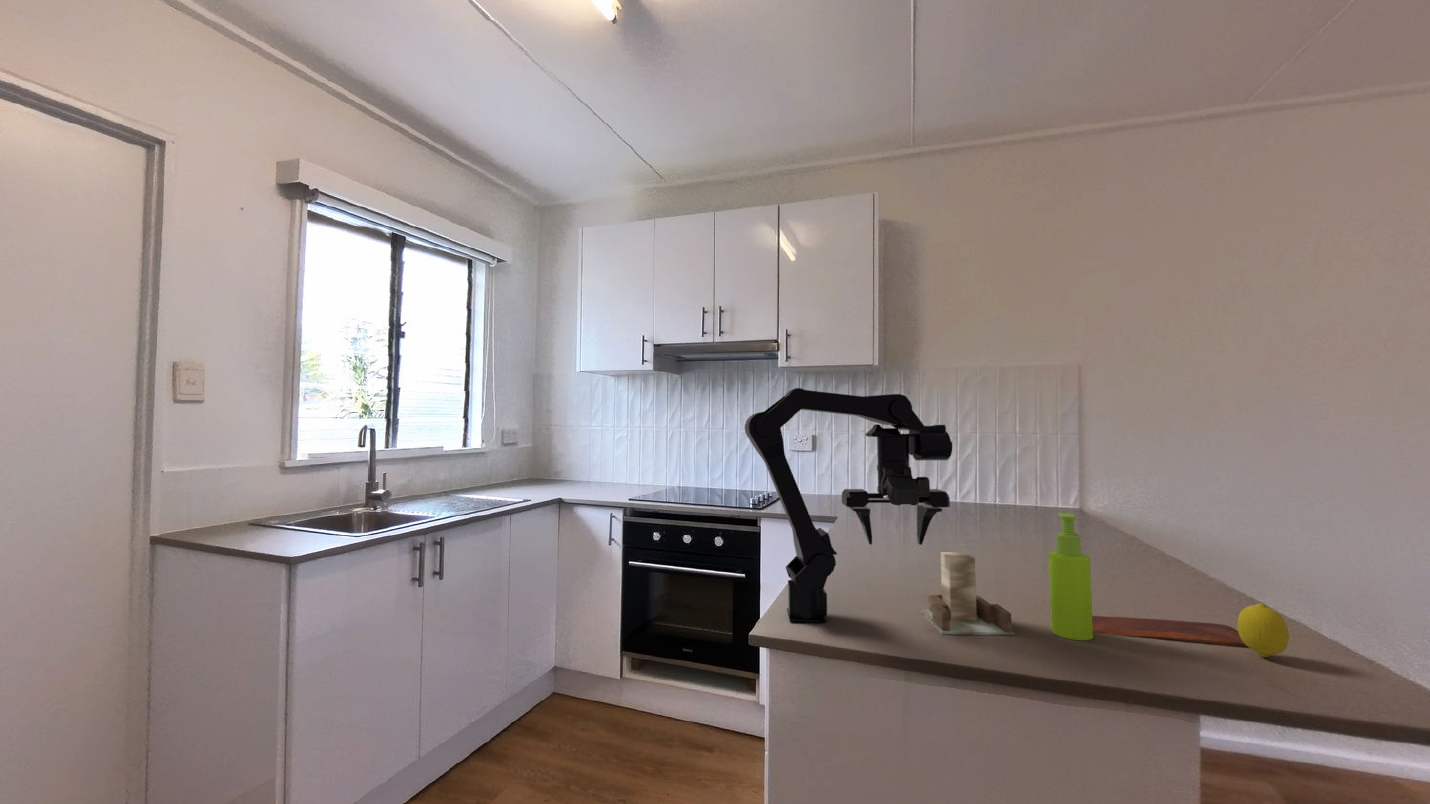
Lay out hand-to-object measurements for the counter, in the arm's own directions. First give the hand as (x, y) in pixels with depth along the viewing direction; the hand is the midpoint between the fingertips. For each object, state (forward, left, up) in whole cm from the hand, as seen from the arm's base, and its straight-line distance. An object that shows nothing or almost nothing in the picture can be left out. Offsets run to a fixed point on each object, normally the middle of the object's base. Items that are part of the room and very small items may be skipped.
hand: (895, 544), depth 103 cm
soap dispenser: (+27, -8, -13) cm, 31 cm away
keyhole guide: (+11, -4, -13) cm, 17 cm away
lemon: (+50, -17, -13) cm, 54 cm away
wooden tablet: (+42, -6, -14) cm, 44 cm away
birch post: (+11, -1, -13) cm, 17 cm away
